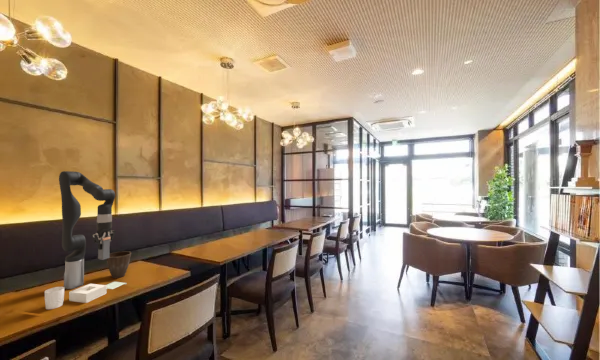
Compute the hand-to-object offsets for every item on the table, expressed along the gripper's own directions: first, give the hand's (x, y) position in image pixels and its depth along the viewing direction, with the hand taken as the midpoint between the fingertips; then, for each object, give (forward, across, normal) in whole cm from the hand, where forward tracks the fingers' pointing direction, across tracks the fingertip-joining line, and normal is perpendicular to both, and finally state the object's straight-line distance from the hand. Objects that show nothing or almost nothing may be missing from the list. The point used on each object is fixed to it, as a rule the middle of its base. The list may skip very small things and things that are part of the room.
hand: (103, 248), depth 159 cm
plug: (+6, 0, 0) cm, 6 cm away
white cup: (+27, +22, -6) cm, 36 cm away
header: (+27, +10, +1) cm, 29 cm away
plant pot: (+27, -23, -14) cm, 38 cm away
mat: (+27, -7, 0) cm, 28 cm away
